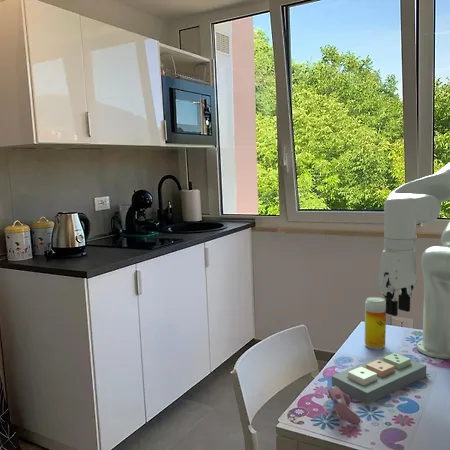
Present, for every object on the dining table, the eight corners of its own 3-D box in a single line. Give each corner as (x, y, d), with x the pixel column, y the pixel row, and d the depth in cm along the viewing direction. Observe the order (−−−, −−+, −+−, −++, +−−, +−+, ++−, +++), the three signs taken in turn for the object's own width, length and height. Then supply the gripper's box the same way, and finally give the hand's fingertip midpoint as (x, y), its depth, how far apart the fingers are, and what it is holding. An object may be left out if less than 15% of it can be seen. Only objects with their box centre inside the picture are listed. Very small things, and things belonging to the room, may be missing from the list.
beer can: (386, 350, 140) (387, 302, 138) (365, 349, 141) (366, 301, 139) (383, 342, 145) (384, 296, 143) (363, 341, 147) (364, 296, 145)
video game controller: (334, 409, 111) (321, 384, 110) (351, 400, 110) (338, 376, 110) (344, 433, 101) (329, 406, 100) (363, 424, 101) (348, 397, 100)
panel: (390, 362, 132) (390, 352, 131) (426, 376, 123) (426, 365, 122) (331, 387, 118) (331, 375, 118) (367, 404, 109) (367, 392, 109)
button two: (378, 370, 124) (378, 359, 123) (394, 376, 120) (394, 365, 119) (365, 375, 121) (366, 364, 120) (381, 382, 117) (382, 371, 116)
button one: (360, 377, 120) (360, 366, 119) (376, 384, 116) (377, 373, 115) (347, 383, 117) (347, 371, 117) (363, 390, 113) (363, 379, 112)
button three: (394, 363, 128) (394, 352, 127) (410, 369, 123) (410, 358, 123) (382, 368, 125) (383, 357, 124) (398, 374, 121) (399, 363, 120)
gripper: (406, 238, 127) (404, 302, 130) (366, 246, 118) (365, 315, 120) (431, 242, 121) (429, 309, 124) (391, 250, 112) (390, 323, 114)
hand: (397, 311), depth 122 cm, fingers open, 4 cm apart
